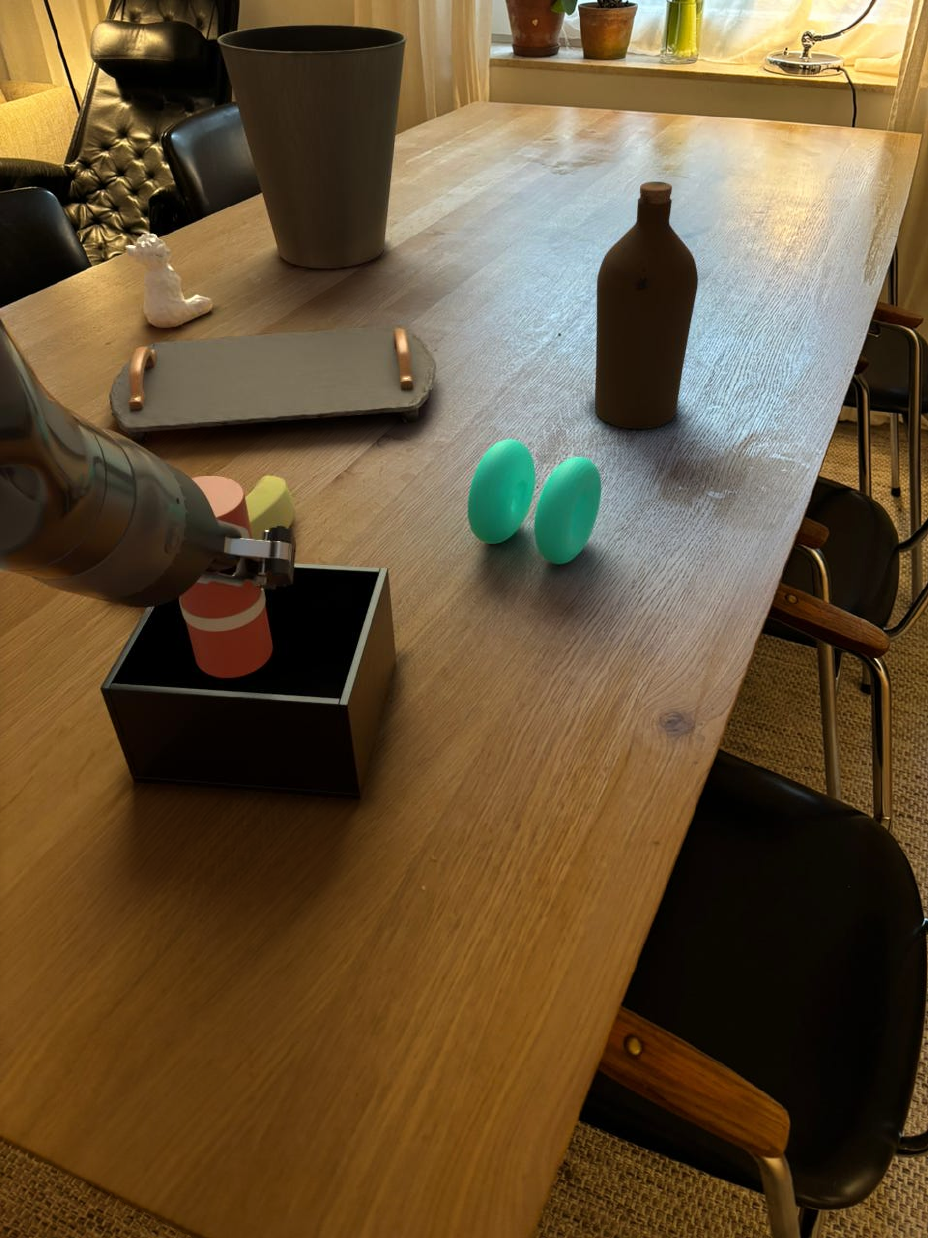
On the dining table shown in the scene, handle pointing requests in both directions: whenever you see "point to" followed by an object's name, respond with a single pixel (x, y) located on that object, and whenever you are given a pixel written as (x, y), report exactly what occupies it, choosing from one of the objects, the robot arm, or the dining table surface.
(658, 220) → the olive oil
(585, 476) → the green wheel pair
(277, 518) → the banana
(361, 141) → the waste basket
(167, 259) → the white creature statuette
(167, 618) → the bin
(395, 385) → the serving tray
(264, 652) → the striped red cylinder
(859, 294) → the dining table surface
